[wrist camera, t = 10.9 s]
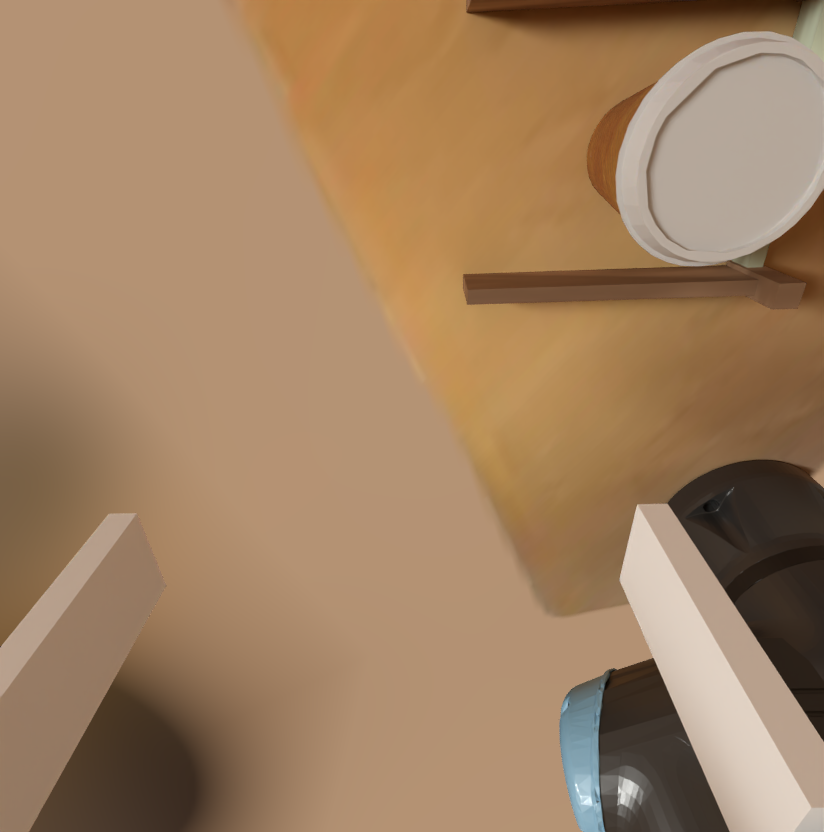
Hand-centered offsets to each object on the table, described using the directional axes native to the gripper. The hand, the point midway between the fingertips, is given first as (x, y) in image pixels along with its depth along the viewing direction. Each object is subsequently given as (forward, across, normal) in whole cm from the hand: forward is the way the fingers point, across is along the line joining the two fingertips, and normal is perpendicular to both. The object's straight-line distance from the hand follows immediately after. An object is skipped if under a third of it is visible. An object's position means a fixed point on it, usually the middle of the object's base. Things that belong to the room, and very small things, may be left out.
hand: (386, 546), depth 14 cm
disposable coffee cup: (+27, -15, -8) cm, 32 cm away
